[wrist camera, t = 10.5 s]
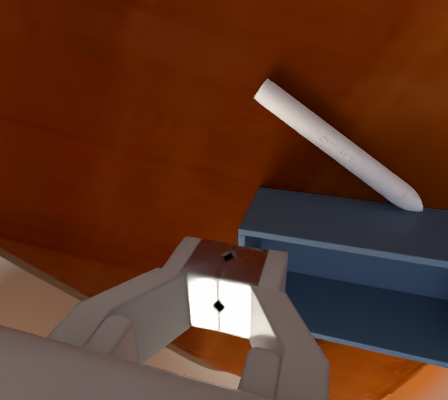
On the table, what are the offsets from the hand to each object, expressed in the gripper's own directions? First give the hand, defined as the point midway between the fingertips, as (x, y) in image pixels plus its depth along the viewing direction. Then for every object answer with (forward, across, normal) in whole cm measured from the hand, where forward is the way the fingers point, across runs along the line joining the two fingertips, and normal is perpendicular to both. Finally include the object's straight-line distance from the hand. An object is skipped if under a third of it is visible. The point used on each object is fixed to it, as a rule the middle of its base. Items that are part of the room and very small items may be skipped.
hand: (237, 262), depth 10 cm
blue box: (+24, -6, +14) cm, 28 cm away
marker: (+24, -4, +4) cm, 24 cm away
